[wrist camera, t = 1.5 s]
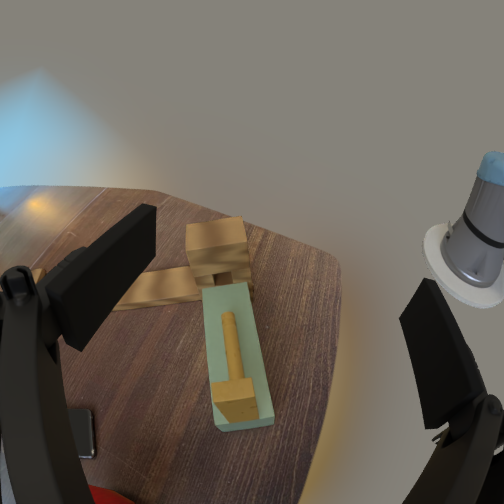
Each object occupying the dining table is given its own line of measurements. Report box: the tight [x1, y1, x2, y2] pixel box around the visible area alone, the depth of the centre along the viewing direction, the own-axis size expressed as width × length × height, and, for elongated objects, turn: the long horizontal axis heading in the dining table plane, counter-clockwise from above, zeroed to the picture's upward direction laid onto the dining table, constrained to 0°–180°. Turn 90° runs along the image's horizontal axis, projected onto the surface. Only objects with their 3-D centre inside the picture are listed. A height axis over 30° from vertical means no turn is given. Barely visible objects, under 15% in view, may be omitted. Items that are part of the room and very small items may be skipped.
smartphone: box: [67, 409, 96, 459], centre depth 24 cm, size 7×1×16 cm
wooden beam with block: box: [31, 216, 254, 311], centre depth 39 cm, size 49×14×12 cm, turn 99°
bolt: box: [211, 312, 260, 423], centre depth 25 cm, size 3×13×9 cm, turn 9°
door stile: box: [202, 282, 275, 432], centre depth 32 cm, size 6×18×5 cm, turn 9°
